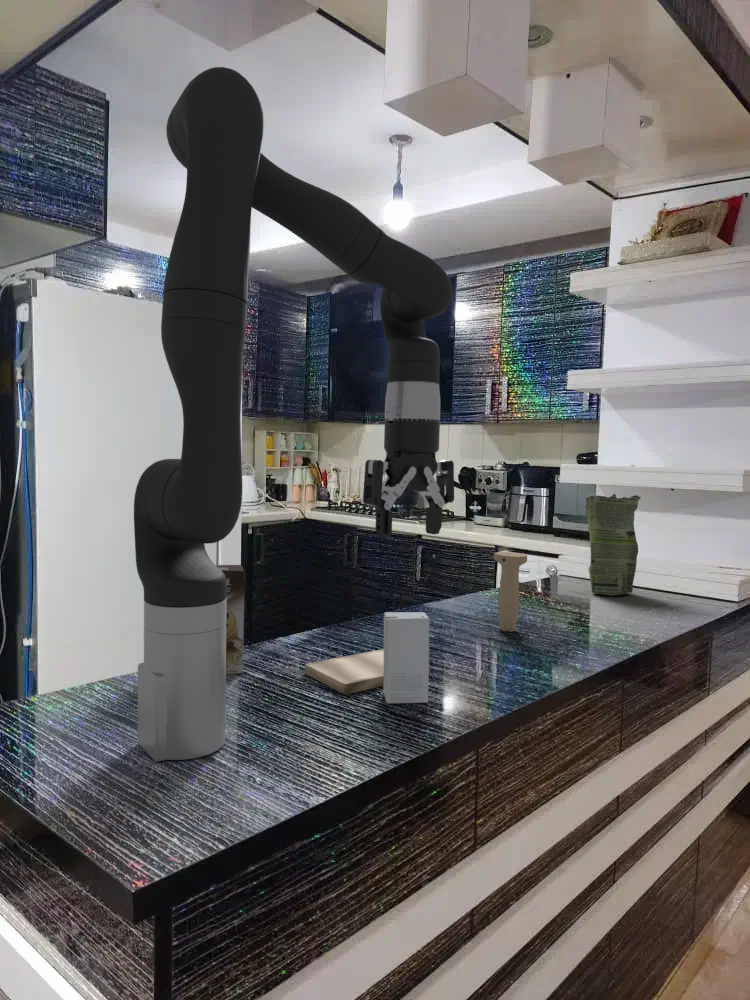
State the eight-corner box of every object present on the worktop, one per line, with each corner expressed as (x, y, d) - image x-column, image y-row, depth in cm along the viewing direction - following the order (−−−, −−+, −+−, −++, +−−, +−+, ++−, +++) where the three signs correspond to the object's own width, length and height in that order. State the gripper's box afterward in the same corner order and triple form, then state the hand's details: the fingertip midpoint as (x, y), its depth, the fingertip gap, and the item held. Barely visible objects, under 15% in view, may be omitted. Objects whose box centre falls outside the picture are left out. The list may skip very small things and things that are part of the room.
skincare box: (423, 693, 102) (426, 610, 101) (429, 704, 97) (431, 618, 96) (381, 693, 101) (383, 610, 100) (384, 705, 97) (386, 618, 96)
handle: (515, 635, 134) (518, 557, 133) (486, 629, 139) (489, 553, 138) (528, 631, 138) (531, 555, 137) (500, 625, 142) (503, 551, 141)
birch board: (345, 694, 100) (345, 684, 100) (305, 673, 109) (305, 663, 109) (430, 675, 110) (430, 665, 110) (387, 657, 119) (387, 648, 119)
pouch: (578, 592, 177) (582, 493, 175) (597, 586, 186) (602, 491, 184) (622, 599, 170) (627, 496, 168) (639, 592, 179) (645, 494, 177)
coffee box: (182, 677, 106) (183, 571, 105) (182, 664, 112) (182, 564, 111) (244, 674, 108) (245, 569, 107) (240, 661, 114) (241, 562, 113)
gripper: (433, 419, 103) (430, 529, 105) (353, 415, 95) (351, 535, 96) (469, 419, 97) (465, 535, 99) (387, 414, 89) (384, 542, 90)
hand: (409, 535), depth 97 cm, fingers open, 8 cm apart
